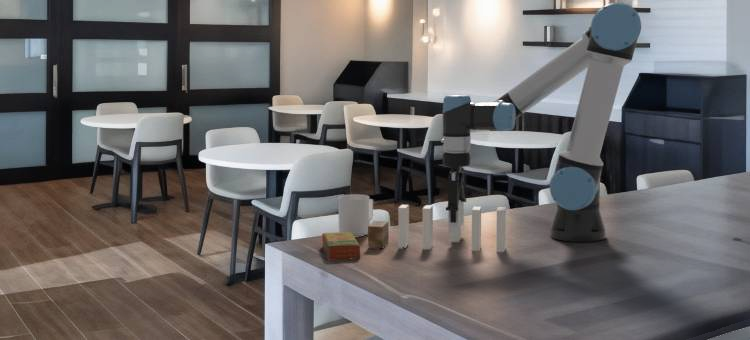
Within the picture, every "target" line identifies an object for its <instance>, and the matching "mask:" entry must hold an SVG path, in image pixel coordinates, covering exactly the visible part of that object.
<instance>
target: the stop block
mask: <svg viewBox="0 0 750 340" xmlns="http://www.w3.org/2000/svg"><path fill="white" fill-rule="evenodd" d="M389 237H390V236H389V221H387V220H373V221H372V222H371V223H370V225H369V226H368V234H367V248H368V247H369V248H368V249H370V248H383V247H384V246H385V245H386V244H387V243H388V241H389ZM389 242H390V241H389ZM388 244H389V243H388ZM388 244H387V245H388ZM387 245H386V246H387ZM386 246H385V247H386ZM385 247H384V248H385ZM384 248H383V249H384Z"/></svg>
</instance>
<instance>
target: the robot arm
mask: <svg viewBox="0 0 750 340" xmlns="http://www.w3.org/2000/svg"><path fill="white" fill-rule="evenodd" d="M641 31H642V21H641V17H640V16H639V13H638V11H637V10H636V9H635V8H634V7H633V6H631V5H629V4H627V3H624V2H617V1H616V2H611V3H608V4H605V5H603V6H602V7H600V8H599V9H598V10H597V11H596V13H595V14H594V16H593V17H592V19H591V23H590V26H589V27H588V28H587V29H585V30H584V31H583V32H582V36H581V38H580V39H577V41H575V42H574V43H572V44H571V45H570V46H568V47H567V48H565V49H564V50H563V51H561V53H559V54H558V55H556V56H554V58H552V59H550V60H549V61H548V62H547V63H545V64H544V65H542V67H540V68H538V69H537V70H535V71H534V72H533V73H532V74H530V75H529V76H528V77H526V78H524V80H522V81H521V82H520V83H519V84H517V85H515V86H514V87H512V88H511V89H510V90H508V91H507V92H506V93H504V94H503V95H502V96H500V97H499V98H498V99H496V100H495V101H492V102H474V101H473V102H472V100H471V96H470V95H468V94H449V95H446V96H444V97H443V99H442V100H443V102H442V105H443V106H442V138H441V139H440V142H441V143H443V144H442V150H443V151H444V152H443V153H442V166H444V167H450V168H451V169H450V171H449V172H448V191H447V192H448V198H447V206H446V207H445V211H448V212H447V213H448V215H447V216H448V220H447V221H448V224H447V225H448V228H447V229H448V235H452V234H459V210H458V202H459V200H461V227H463V226H464V225H465V224H464V223H465V222H464V221H465V220H464V218H465V217H464V216H465V215H464V214H465V212H464V211H465V207H464V205H465V203H466V202H467V198H465V197H466V196H465V180H464V179H465V169H464V167H466V168H467V167H469V166H470V165H471V152H469V151H470V150H471V141H472V140H471V131H498V132H505V131H513V130H514V129H515V125H516V120H517V119H518V118H520V116H522V115H523V114H524V113H527V111H529V110H530V109H532V108H533V107H535V106H536V105H537V104H538V103H540V102H541V101H543V100H544V99H545V98H547V97H548V96H550V95H551V94H553V93H554V92H556V91H557V90H559V89H560V88H561V87H563V86H564V85H565V84H567V83H568V82H570V81H571V80H572V79H573V78H575V77H576V76H578V75H579V74H580V73H582V72H583V71H585V70H586V69H587V70H586V75H585V78H584V82H583V86H582V90H581V93H580V96H579V97H580V98H579V101H578V105H577V108H576V111H575V116H574V120H573V124H572V127H571V132H570V136H569V139H568V142H567V147H566V148H565V149H564V150H561V151H560V152H559V154H558V158H557V162H556V165H555V169H554V174H553V175H552V177H550V181H549V192H550V196H551V198H552V200H553V202H555V204H556V211H555V213H554V216H553V219H552V222H551V225H550V230H549V235H550V238H553V239H556V240H559V241H564V242H565V241H566V242H576V243H577V242H578V243H585V242H586V243H589V242H598V241H603V240H604V239H605V238H606V228H605V224H604V222H603V218H602V214H601V212H600V208H601V207H600V198H601V175H602V171H603V167H604V162H603V161H602V158H601V156H600V155H601V153H602V150H603V149H602V148H603V145H604V141H605V138H606V137H605V136H606V133H607V130H608V126H609V123H610V118H611V115H612V111H613V107H614V105H615V100H616V96H617V92H618V90H619V85H620V82H621V78H622V75H623V71H624V67H625V66H626V65H628V64H630V63H632V61H633V57H634V55H635V49H636V46H637V42H638V39H639V36H640V34H641Z"/></svg>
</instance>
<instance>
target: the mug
mask: <svg viewBox="0 0 750 340" xmlns="http://www.w3.org/2000/svg"><path fill="white" fill-rule="evenodd" d="M337 200H338V201H337V202H338V204H337V205H338V208H337V209H338V233H340V232H351V233H352V234H353V236H361V235H366V234H367V235H368V226H369V225H370V224H371V223H370V222H371V220H372V219H373V216H374V199H372V198H370V196H369V195H367V194H358V193H357V194H356V193H355V194H352V193H351V194H343V195H340V196H338V198H337ZM367 235H366V236H367Z"/></svg>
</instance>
